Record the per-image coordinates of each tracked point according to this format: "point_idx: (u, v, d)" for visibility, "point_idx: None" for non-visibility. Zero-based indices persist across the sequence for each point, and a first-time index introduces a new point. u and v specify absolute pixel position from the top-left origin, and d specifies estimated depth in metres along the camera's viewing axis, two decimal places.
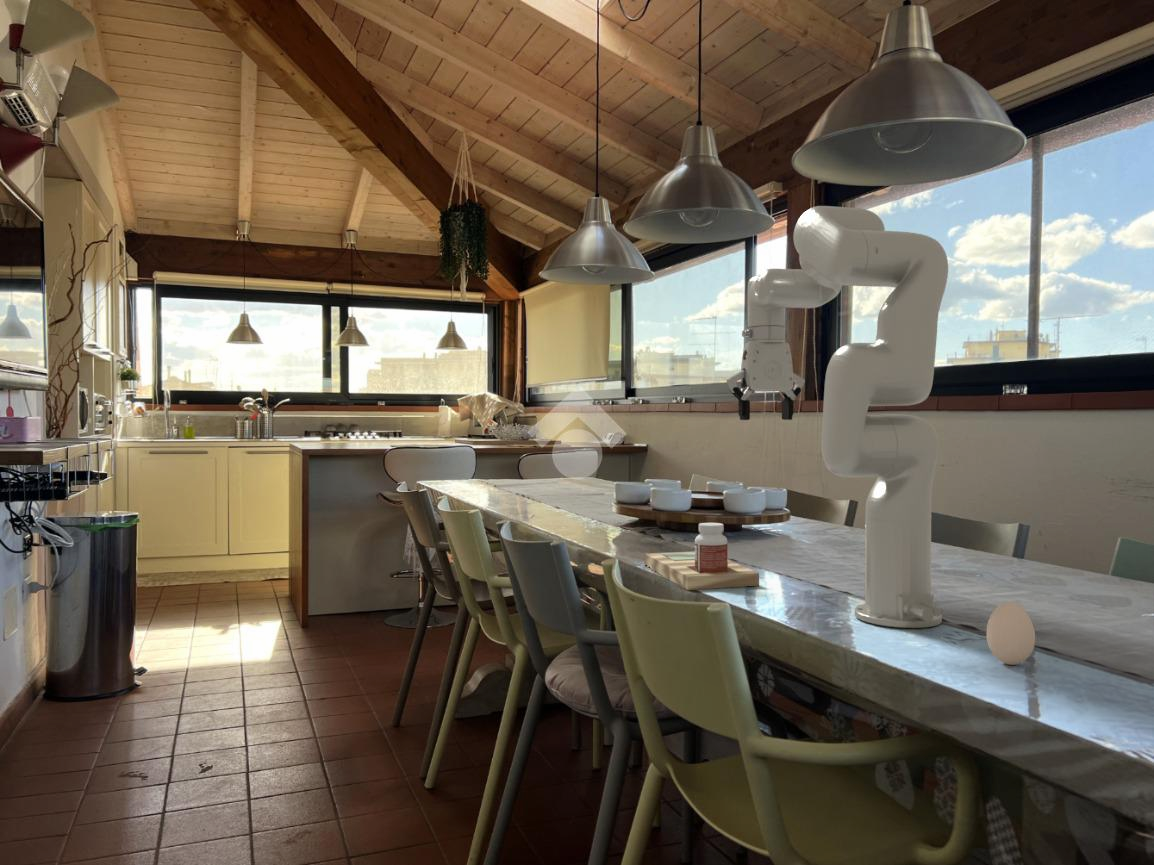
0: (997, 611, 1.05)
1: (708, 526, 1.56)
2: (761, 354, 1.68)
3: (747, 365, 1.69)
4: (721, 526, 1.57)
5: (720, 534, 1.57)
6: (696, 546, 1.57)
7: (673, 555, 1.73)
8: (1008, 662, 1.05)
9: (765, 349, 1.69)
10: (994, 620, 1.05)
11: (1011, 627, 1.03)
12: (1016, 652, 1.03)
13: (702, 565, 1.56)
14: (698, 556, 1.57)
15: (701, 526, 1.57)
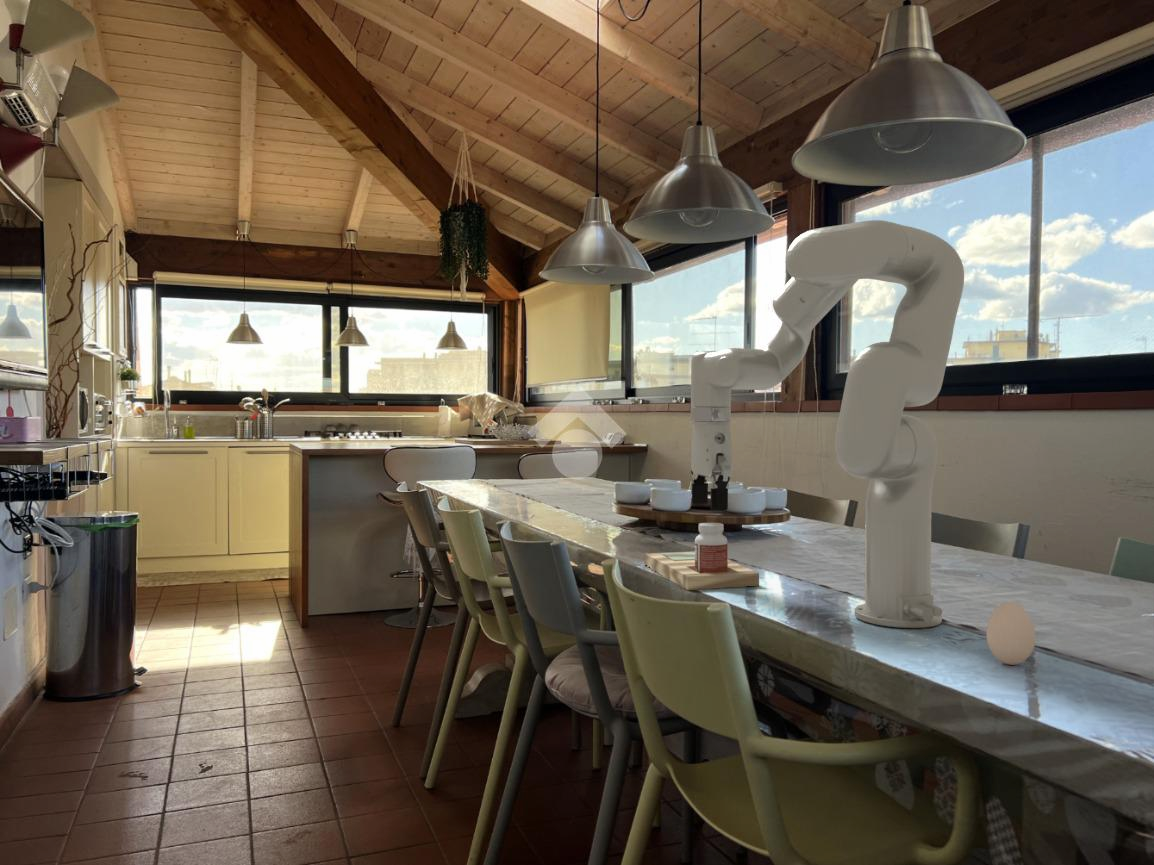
0: (997, 611, 1.05)
1: (708, 526, 1.56)
2: None
3: (727, 450, 1.54)
4: (721, 526, 1.57)
5: (720, 534, 1.57)
6: (696, 546, 1.57)
7: (673, 555, 1.73)
8: (1008, 662, 1.05)
9: None
10: (994, 620, 1.05)
11: (1011, 627, 1.03)
12: (1016, 652, 1.03)
13: (702, 565, 1.56)
14: (698, 556, 1.57)
15: (701, 526, 1.57)
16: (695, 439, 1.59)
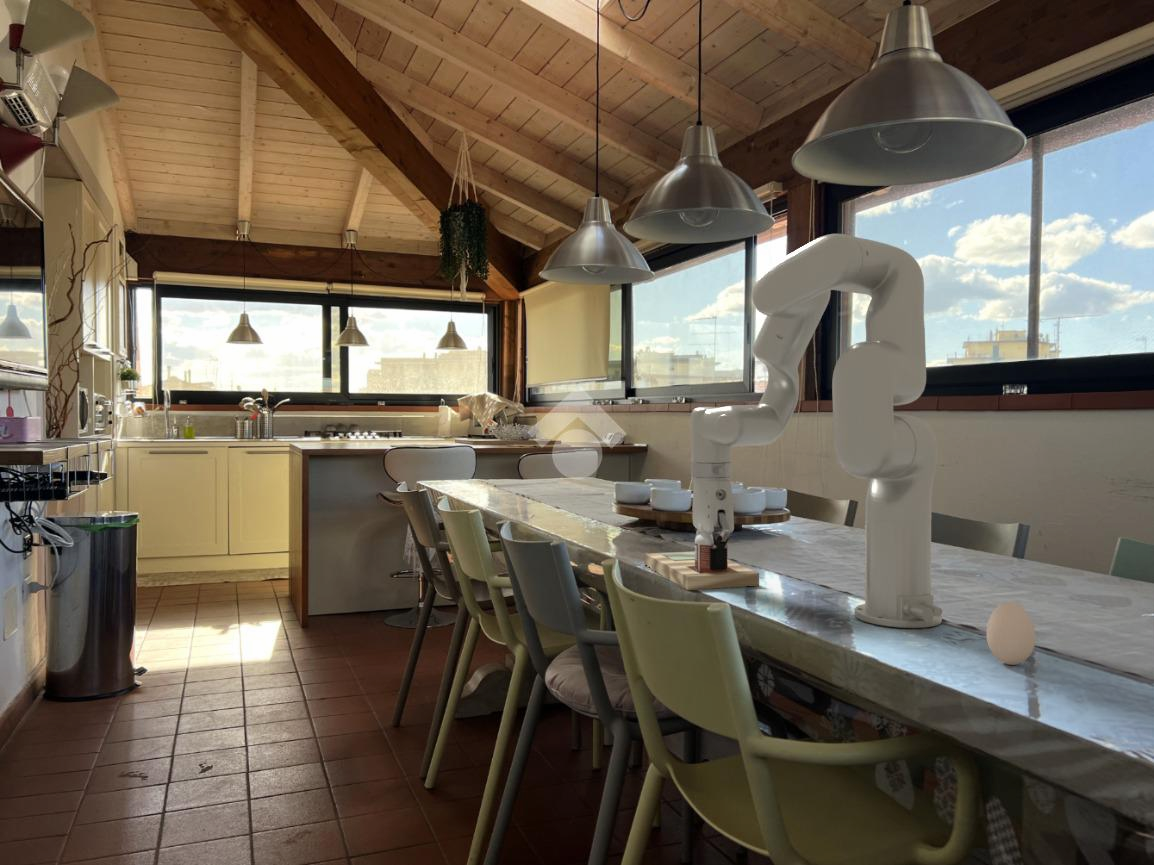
0: (997, 611, 1.05)
1: None
2: None
3: (728, 506, 1.54)
4: None
5: None
6: (696, 546, 1.57)
7: (673, 555, 1.73)
8: (1008, 662, 1.05)
9: None
10: (994, 620, 1.05)
11: (1011, 627, 1.03)
12: (1016, 652, 1.03)
13: (702, 565, 1.56)
14: (698, 556, 1.57)
15: (701, 526, 1.57)
16: (696, 494, 1.59)
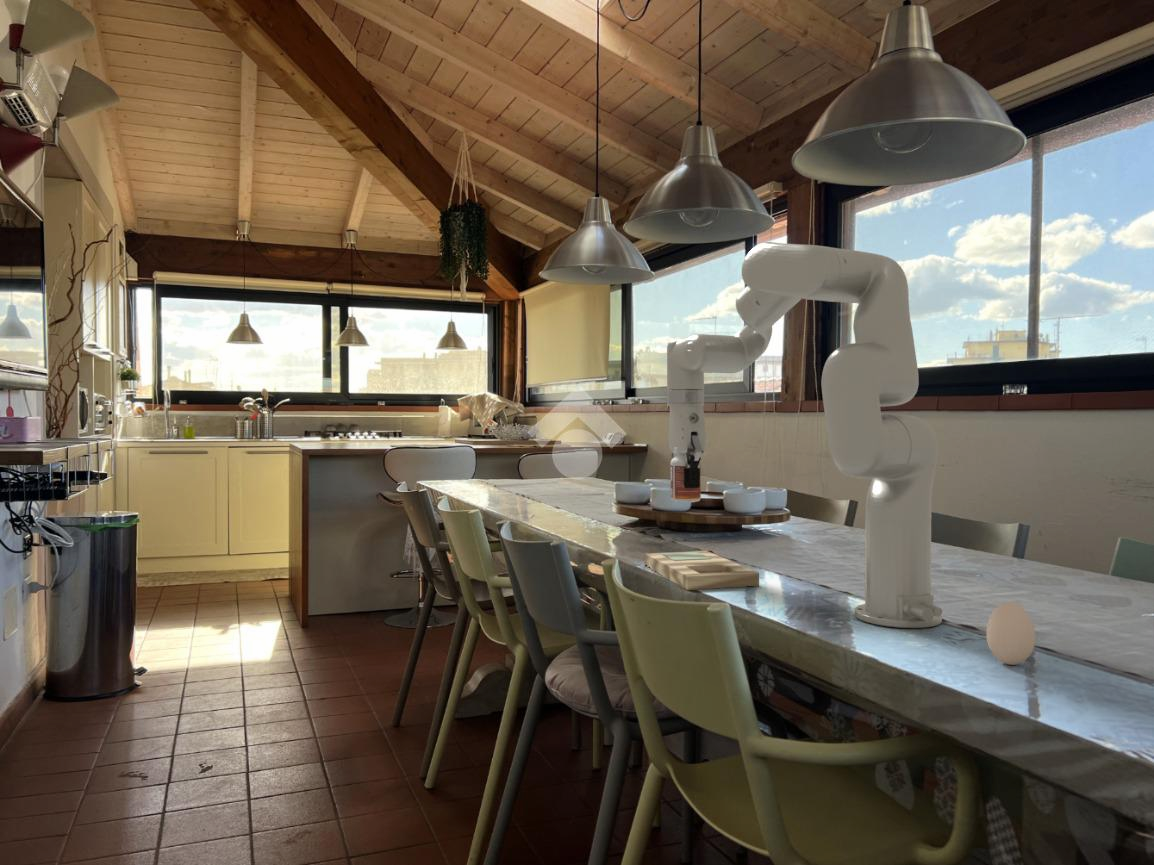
0: (997, 611, 1.05)
1: None
2: None
3: (700, 428, 1.67)
4: None
5: None
6: (671, 467, 1.71)
7: (673, 555, 1.73)
8: (1008, 662, 1.05)
9: None
10: (994, 620, 1.05)
11: (1011, 627, 1.03)
12: (1016, 652, 1.03)
13: (677, 484, 1.69)
14: (673, 477, 1.70)
15: (676, 449, 1.70)
16: (671, 420, 1.72)
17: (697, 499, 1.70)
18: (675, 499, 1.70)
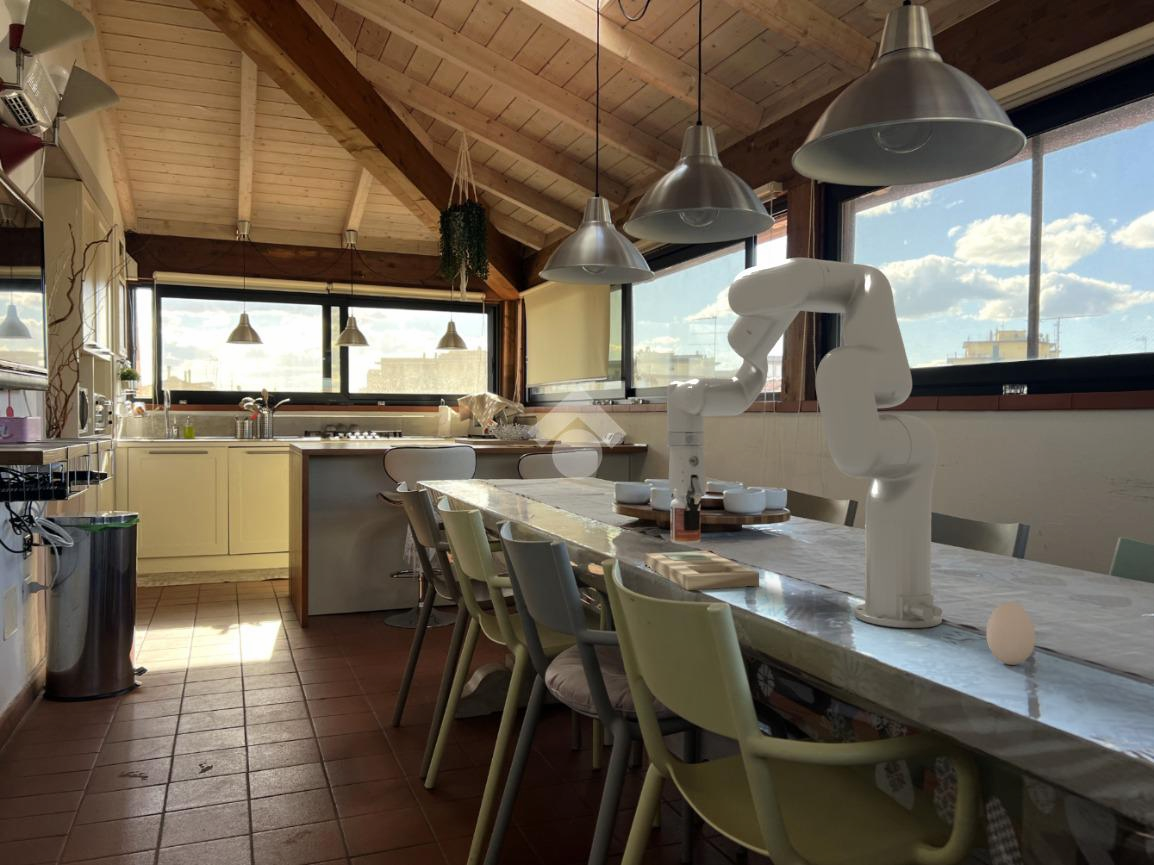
0: (997, 611, 1.05)
1: None
2: None
3: (700, 471, 1.67)
4: None
5: None
6: (671, 509, 1.71)
7: (673, 555, 1.73)
8: (1008, 662, 1.05)
9: None
10: (994, 620, 1.05)
11: (1011, 627, 1.03)
12: (1016, 652, 1.03)
13: (676, 526, 1.70)
14: (673, 519, 1.70)
15: (676, 491, 1.70)
16: (671, 461, 1.72)
17: (697, 541, 1.70)
18: (675, 541, 1.70)
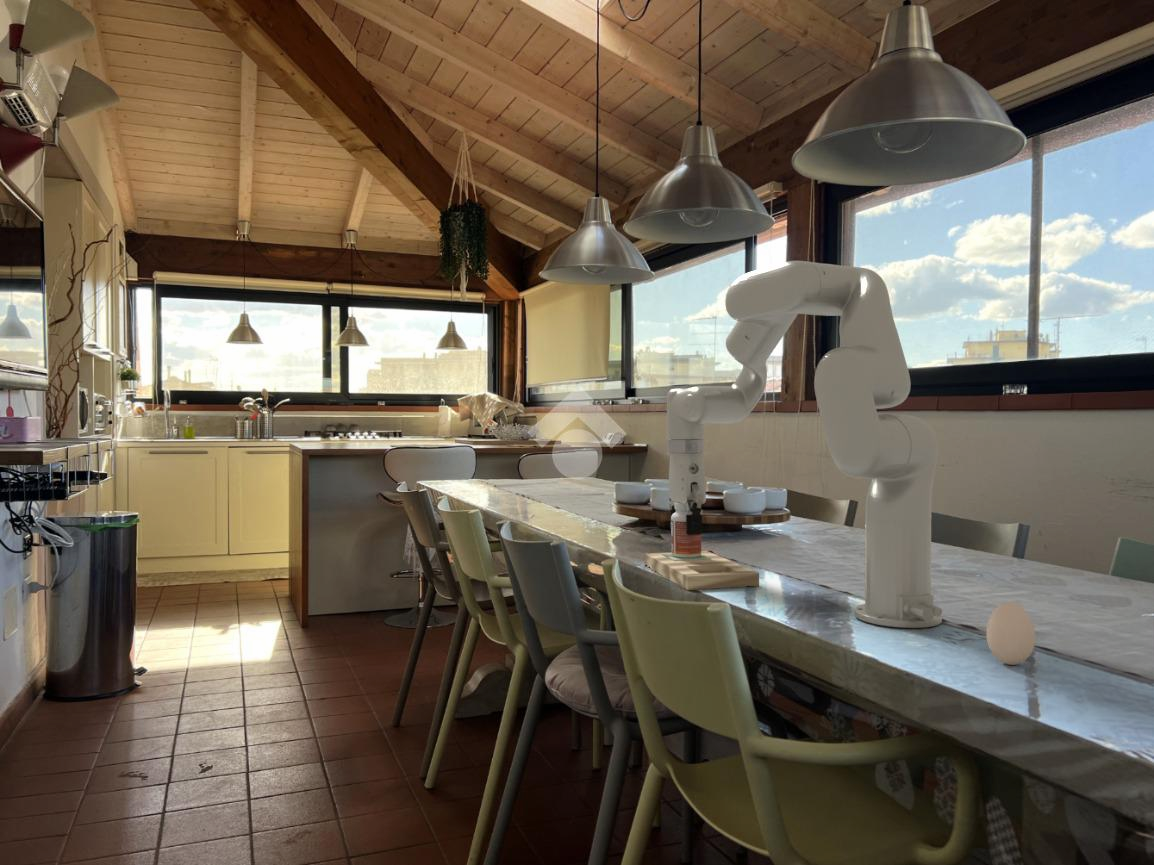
0: (997, 611, 1.05)
1: (683, 504, 1.69)
2: None
3: (700, 479, 1.67)
4: None
5: None
6: (672, 522, 1.71)
7: None
8: (1008, 662, 1.05)
9: None
10: (994, 620, 1.05)
11: (1011, 627, 1.03)
12: (1016, 652, 1.03)
13: (677, 540, 1.69)
14: (674, 532, 1.70)
15: (676, 504, 1.70)
16: (671, 469, 1.72)
17: (698, 554, 1.70)
18: (676, 554, 1.70)
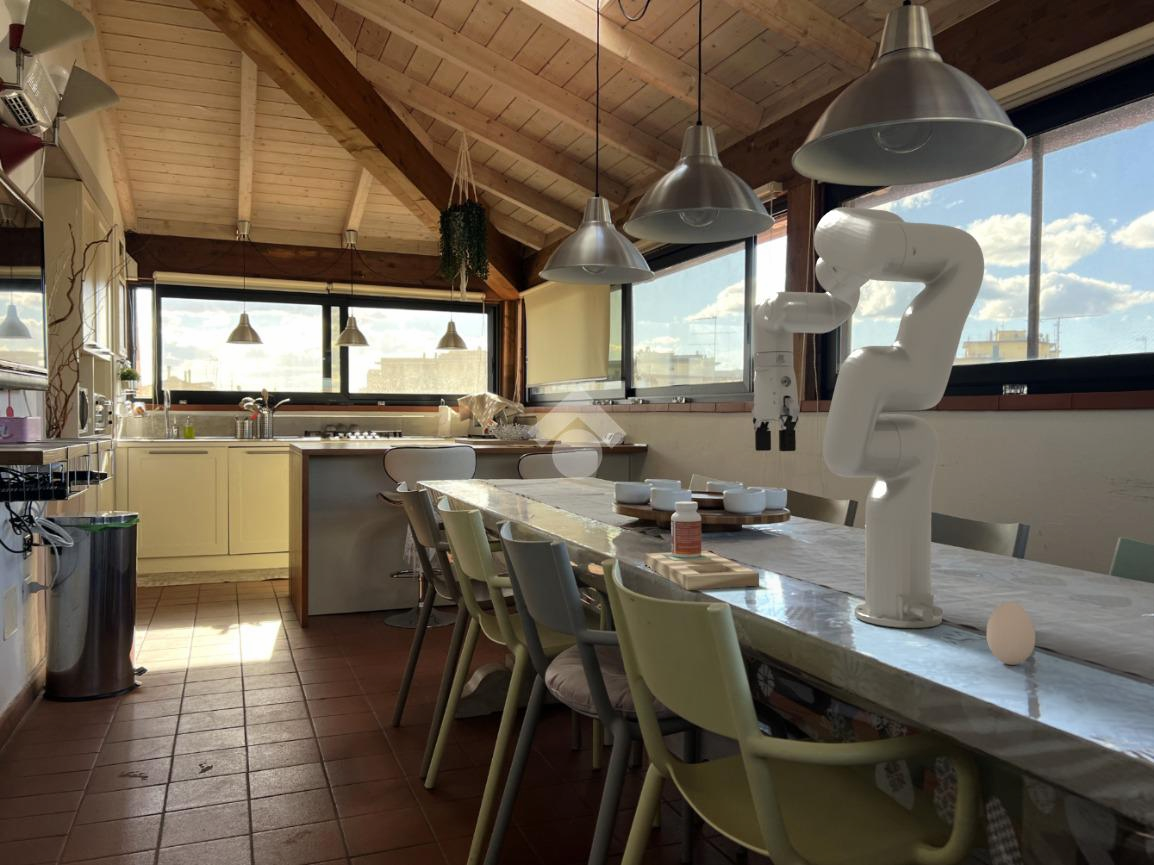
0: (997, 611, 1.05)
1: (683, 504, 1.69)
2: None
3: (793, 392, 1.58)
4: (695, 504, 1.70)
5: (694, 511, 1.70)
6: (672, 522, 1.71)
7: None
8: (1008, 662, 1.05)
9: None
10: (994, 620, 1.05)
11: (1011, 627, 1.03)
12: (1016, 652, 1.03)
13: (677, 540, 1.69)
14: (674, 532, 1.70)
15: (677, 504, 1.70)
16: (759, 385, 1.63)
17: (698, 554, 1.70)
18: (676, 554, 1.70)
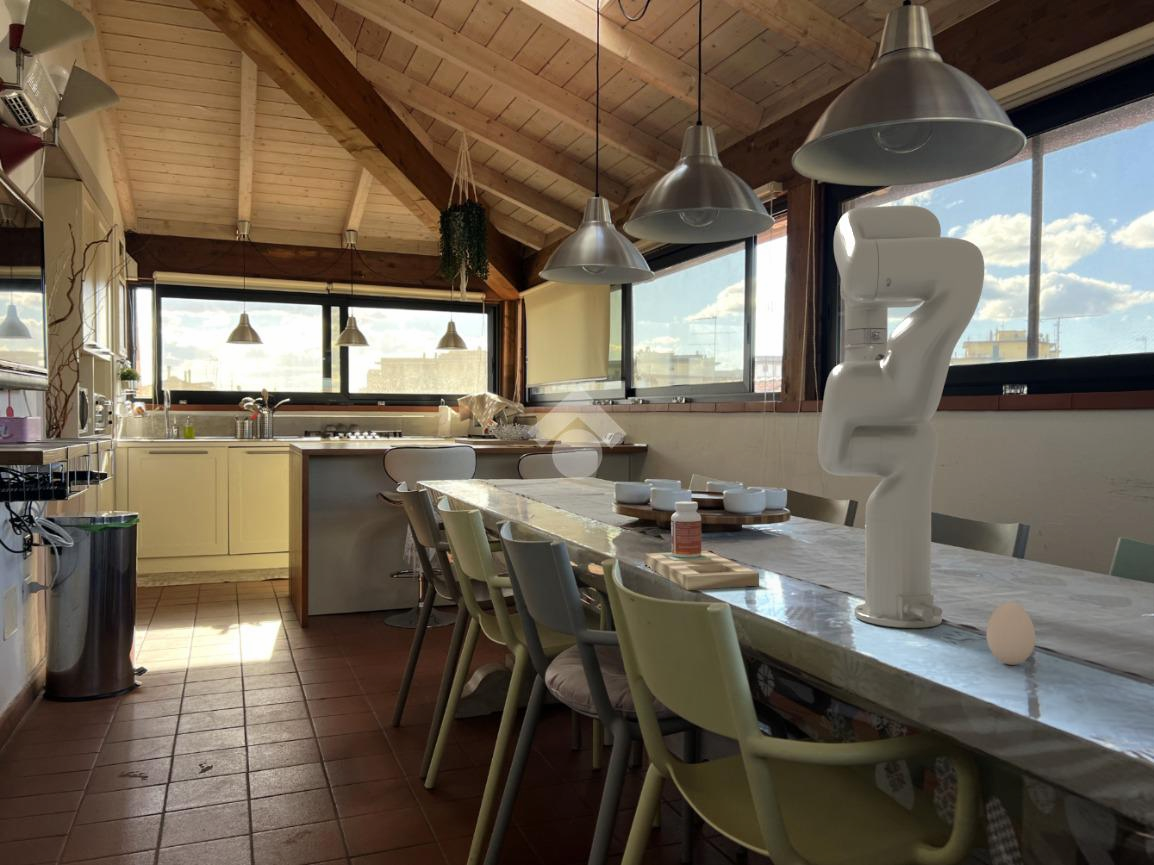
0: (997, 611, 1.05)
1: (683, 504, 1.69)
2: None
3: None
4: (695, 504, 1.70)
5: (694, 511, 1.70)
6: (672, 522, 1.71)
7: None
8: (1008, 662, 1.05)
9: None
10: (994, 620, 1.05)
11: (1011, 627, 1.03)
12: (1016, 652, 1.03)
13: (677, 540, 1.69)
14: (674, 532, 1.70)
15: (677, 504, 1.70)
16: None
17: (698, 554, 1.70)
18: (676, 554, 1.70)
